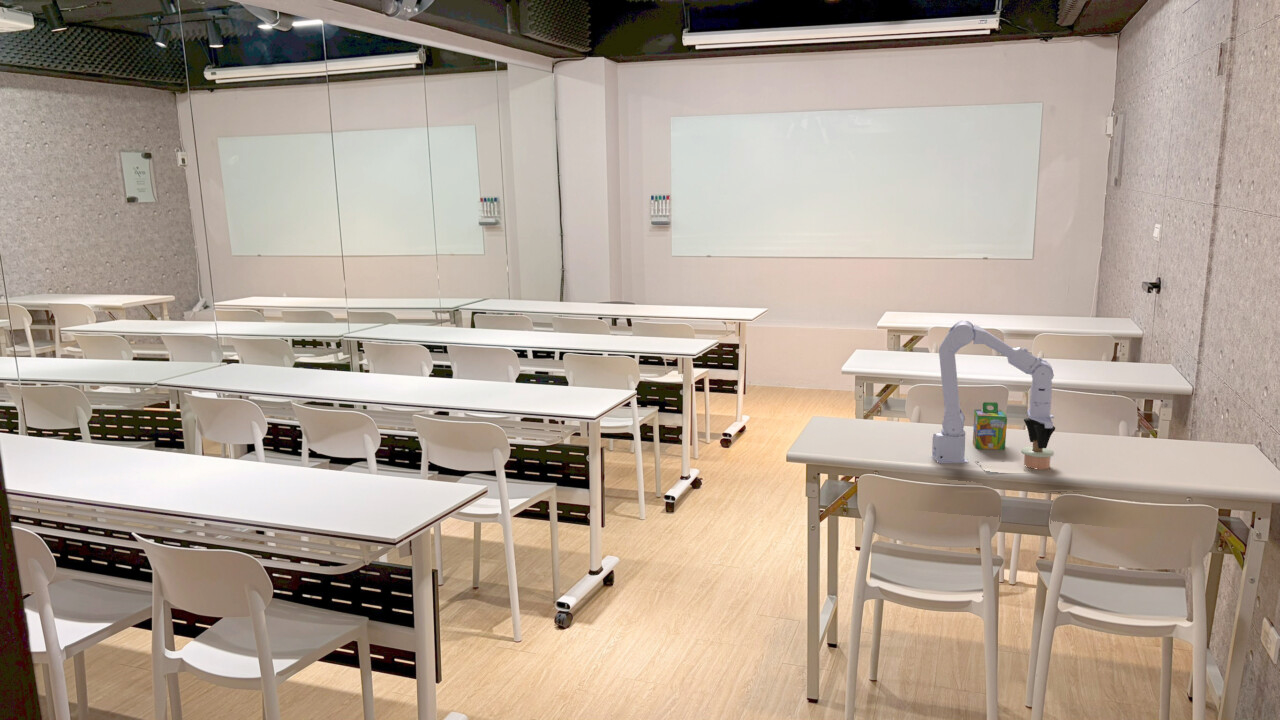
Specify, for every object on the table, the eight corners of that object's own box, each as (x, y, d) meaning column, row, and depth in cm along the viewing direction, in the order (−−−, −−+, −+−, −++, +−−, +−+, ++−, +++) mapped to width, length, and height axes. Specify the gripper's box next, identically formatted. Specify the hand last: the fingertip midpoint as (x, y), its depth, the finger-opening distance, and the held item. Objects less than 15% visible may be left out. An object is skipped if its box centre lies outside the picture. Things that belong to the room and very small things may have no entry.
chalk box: (975, 450, 280) (977, 406, 277) (972, 442, 289) (973, 399, 286) (1006, 451, 278) (1008, 406, 275) (1001, 443, 287) (1003, 400, 284)
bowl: (1029, 470, 258) (1030, 456, 257) (1020, 463, 265) (1021, 449, 264) (1053, 470, 258) (1054, 456, 257) (1043, 463, 265) (1044, 449, 264)
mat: (987, 475, 256) (987, 473, 256) (974, 462, 268) (974, 461, 267) (1028, 474, 255) (1029, 473, 255) (1013, 462, 267) (1014, 460, 267)
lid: (1028, 457, 256) (1029, 446, 256) (1016, 448, 265) (1017, 437, 265) (1059, 457, 256) (1059, 445, 255) (1046, 448, 265) (1046, 437, 264)
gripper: (1064, 407, 250) (1061, 451, 253) (1044, 395, 264) (1041, 437, 267) (1039, 407, 251) (1037, 452, 253) (1021, 396, 265) (1018, 438, 268)
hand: (1038, 444), depth 260 cm, fingers open, 6 cm apart
